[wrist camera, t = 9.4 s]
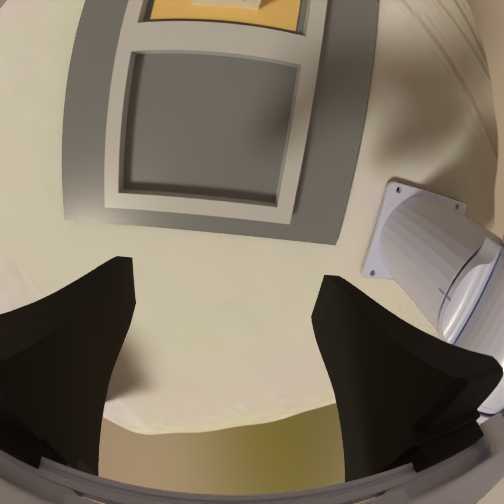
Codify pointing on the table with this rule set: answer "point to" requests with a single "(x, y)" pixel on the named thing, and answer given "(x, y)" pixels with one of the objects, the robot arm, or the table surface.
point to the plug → (230, 3)
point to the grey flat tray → (217, 115)
